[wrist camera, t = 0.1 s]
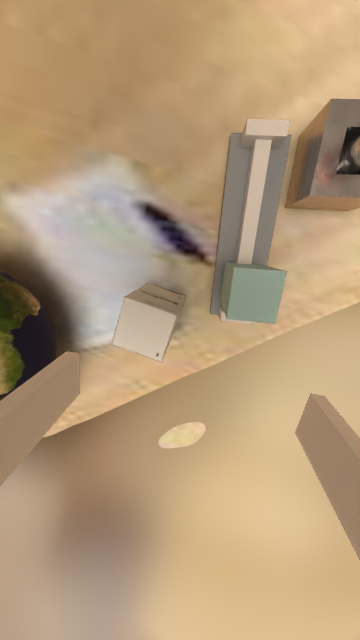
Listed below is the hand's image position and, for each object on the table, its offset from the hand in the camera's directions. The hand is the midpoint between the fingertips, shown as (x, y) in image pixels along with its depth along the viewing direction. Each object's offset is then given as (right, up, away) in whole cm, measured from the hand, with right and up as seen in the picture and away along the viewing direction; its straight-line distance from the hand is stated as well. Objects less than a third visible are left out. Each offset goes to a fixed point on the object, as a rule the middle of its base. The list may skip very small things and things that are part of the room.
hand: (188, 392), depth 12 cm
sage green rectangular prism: (+9, +10, +23) cm, 27 cm away
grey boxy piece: (+20, +25, +19) cm, 38 cm away
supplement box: (-4, +7, +28) cm, 29 cm away
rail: (+10, +18, +23) cm, 30 cm away
